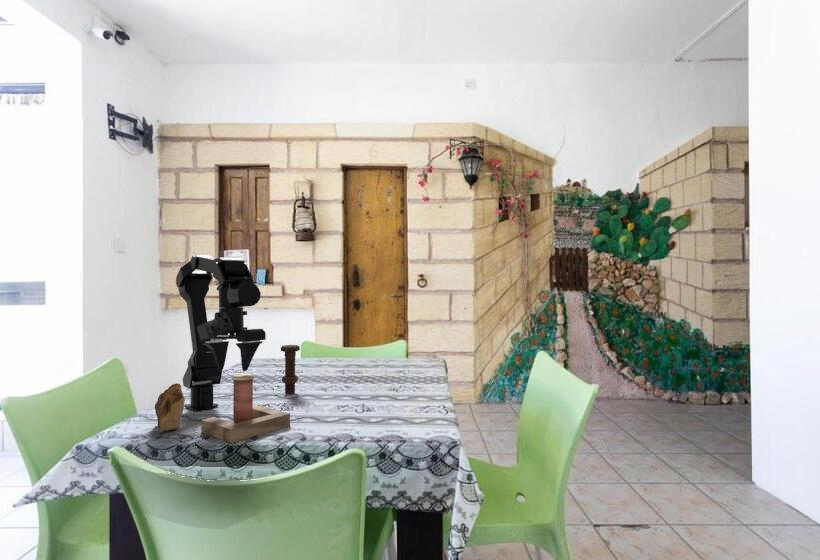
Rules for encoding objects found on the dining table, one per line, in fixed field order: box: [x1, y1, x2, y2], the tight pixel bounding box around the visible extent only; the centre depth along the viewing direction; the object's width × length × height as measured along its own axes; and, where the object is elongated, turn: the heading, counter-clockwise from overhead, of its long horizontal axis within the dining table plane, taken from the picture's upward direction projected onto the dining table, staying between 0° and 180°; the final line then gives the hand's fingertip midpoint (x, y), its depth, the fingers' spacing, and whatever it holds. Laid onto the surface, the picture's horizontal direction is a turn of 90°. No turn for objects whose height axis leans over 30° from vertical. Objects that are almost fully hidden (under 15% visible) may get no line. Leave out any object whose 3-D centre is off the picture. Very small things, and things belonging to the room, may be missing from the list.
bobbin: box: [231, 373, 255, 424], centre depth 115 cm, size 6×6×12 cm
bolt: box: [280, 344, 301, 395], centre depth 150 cm, size 6×5×15 cm
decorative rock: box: [154, 383, 186, 432], centre depth 114 cm, size 12×6×11 cm, turn 31°
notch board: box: [201, 405, 291, 444], centre depth 114 cm, size 12×16×3 cm
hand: (232, 370), depth 119 cm, fingers open, 9 cm apart
